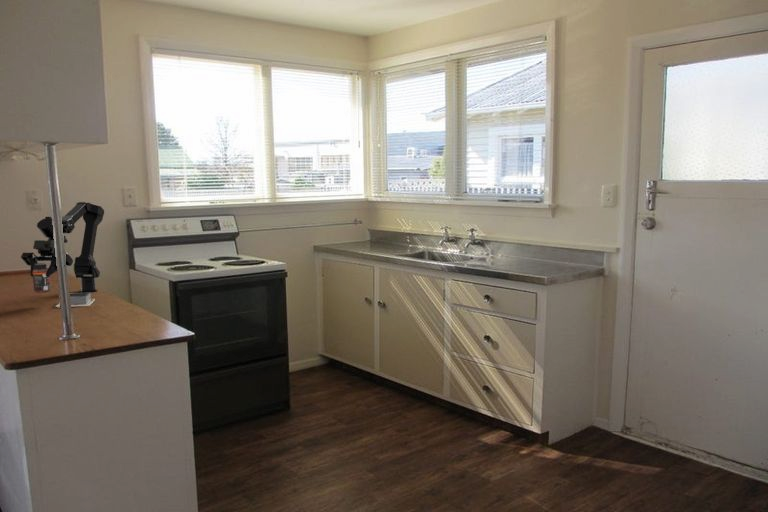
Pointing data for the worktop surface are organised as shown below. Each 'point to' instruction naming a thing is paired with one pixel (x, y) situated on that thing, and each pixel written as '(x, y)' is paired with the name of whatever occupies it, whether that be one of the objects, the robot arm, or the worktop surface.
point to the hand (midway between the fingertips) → (39, 276)
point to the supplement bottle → (41, 279)
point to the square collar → (80, 299)
